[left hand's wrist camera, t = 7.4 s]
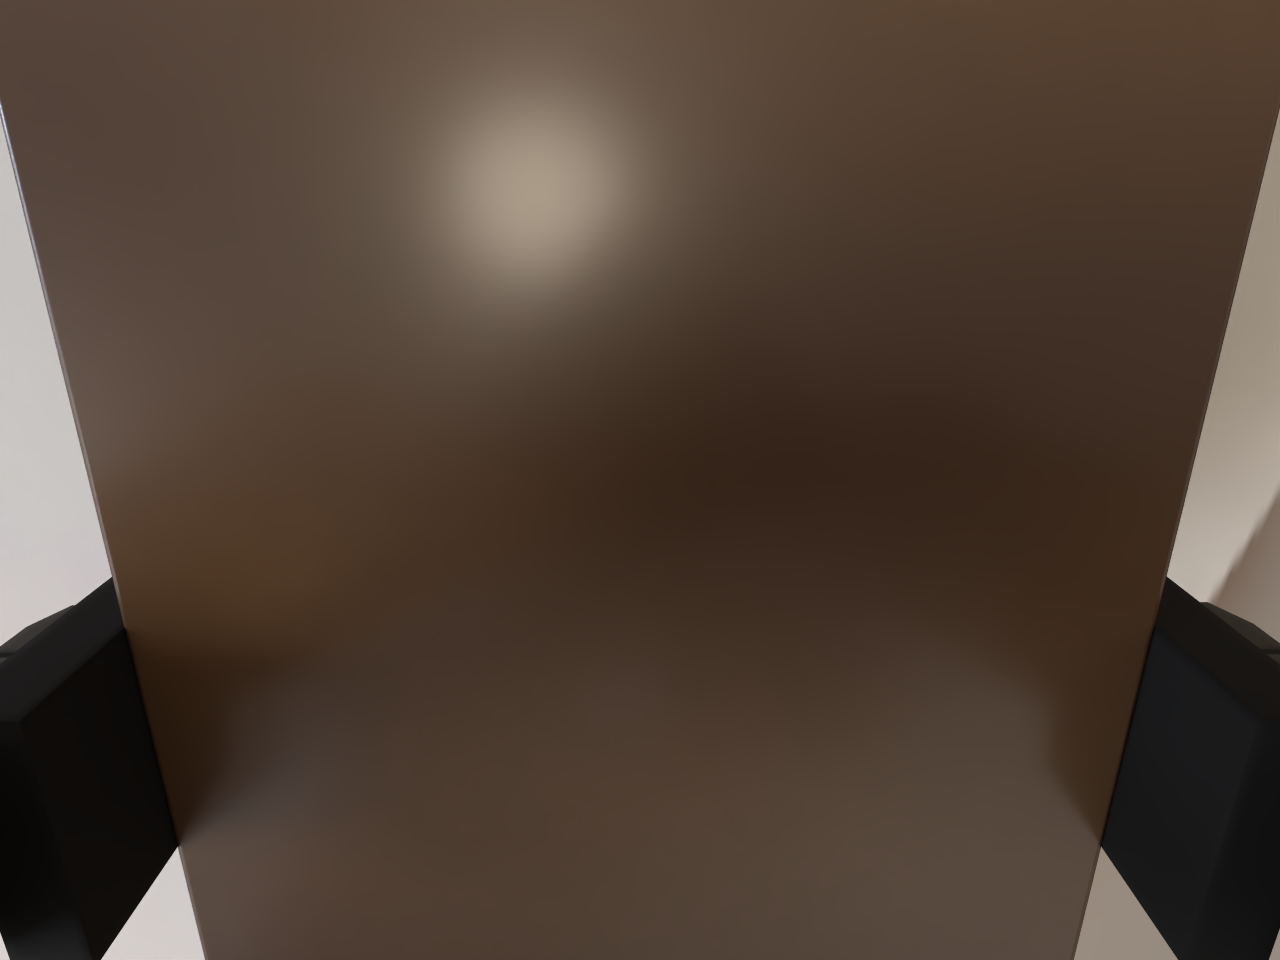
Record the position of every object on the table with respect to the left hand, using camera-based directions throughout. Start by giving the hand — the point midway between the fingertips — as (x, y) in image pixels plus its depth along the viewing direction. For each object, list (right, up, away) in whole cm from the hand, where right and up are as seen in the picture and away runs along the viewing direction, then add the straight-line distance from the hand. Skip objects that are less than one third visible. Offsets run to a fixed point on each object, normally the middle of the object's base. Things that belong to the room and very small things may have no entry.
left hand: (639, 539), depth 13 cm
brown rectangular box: (0, +6, +3) cm, 7 cm away
